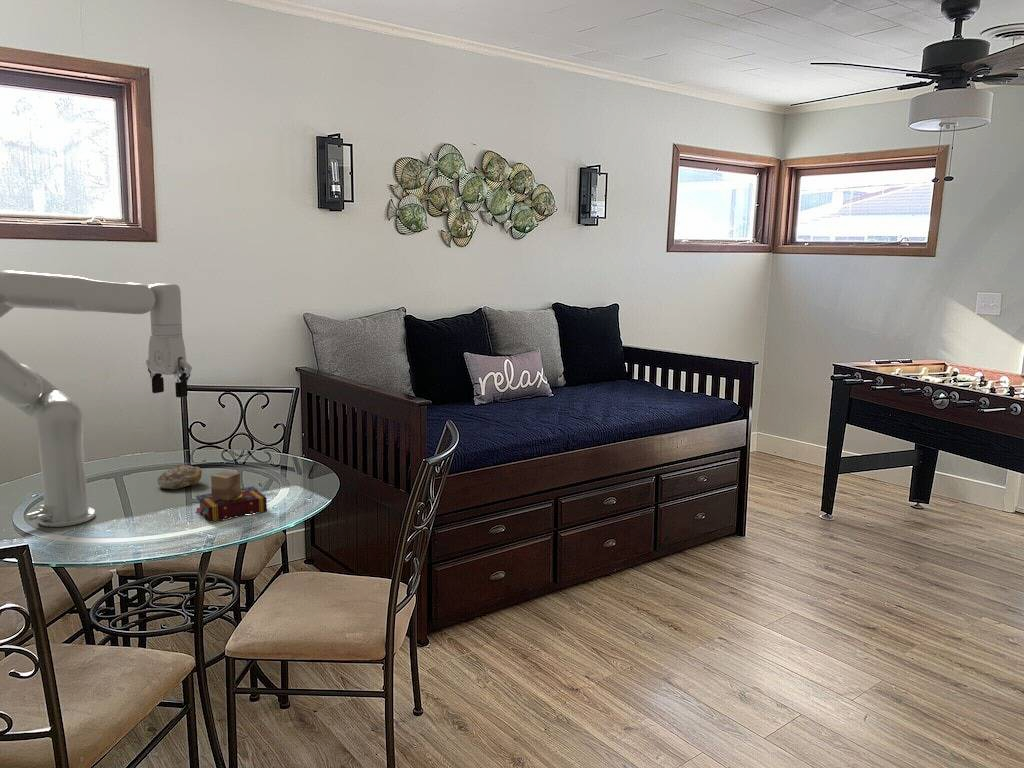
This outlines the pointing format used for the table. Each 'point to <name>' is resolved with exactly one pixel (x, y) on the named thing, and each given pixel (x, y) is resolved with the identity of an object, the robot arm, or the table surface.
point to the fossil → (180, 477)
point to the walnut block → (226, 485)
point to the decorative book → (232, 505)
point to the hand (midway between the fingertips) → (169, 394)
